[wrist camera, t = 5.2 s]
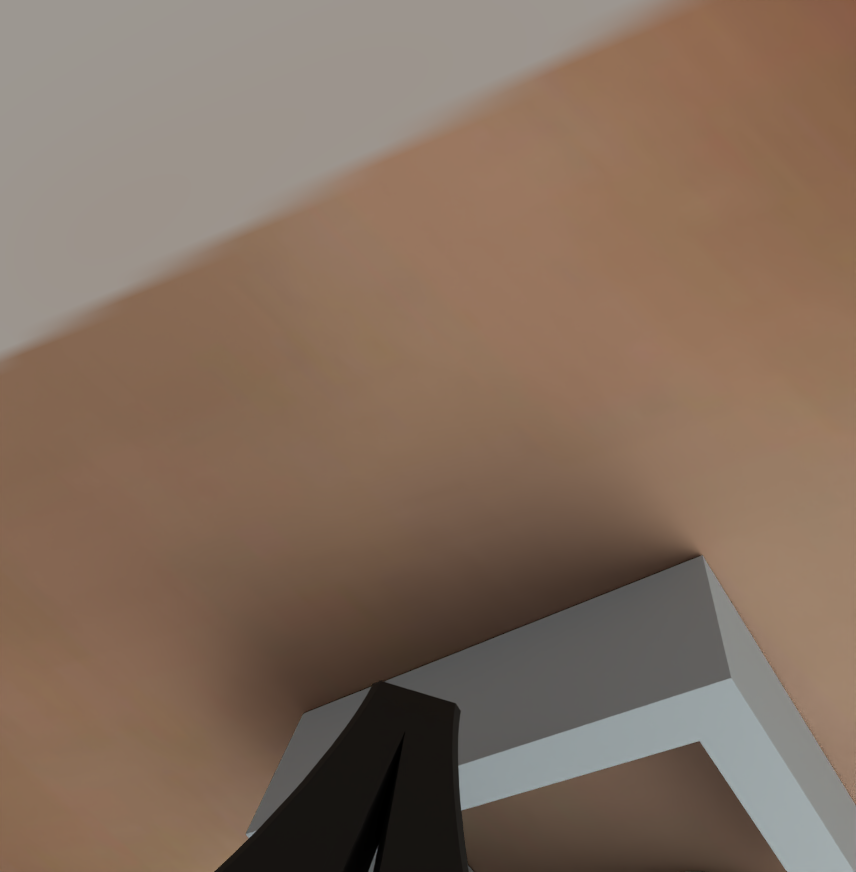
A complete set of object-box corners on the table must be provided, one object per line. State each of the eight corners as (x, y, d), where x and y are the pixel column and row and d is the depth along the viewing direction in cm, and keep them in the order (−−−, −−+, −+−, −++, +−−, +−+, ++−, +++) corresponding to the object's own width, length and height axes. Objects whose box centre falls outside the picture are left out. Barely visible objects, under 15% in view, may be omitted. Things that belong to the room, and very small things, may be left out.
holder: (504, 950, 21) (487, 1096, 18) (303, 713, 18) (245, 834, 15) (897, 873, 16) (965, 1046, 13) (702, 554, 14) (731, 677, 11)
